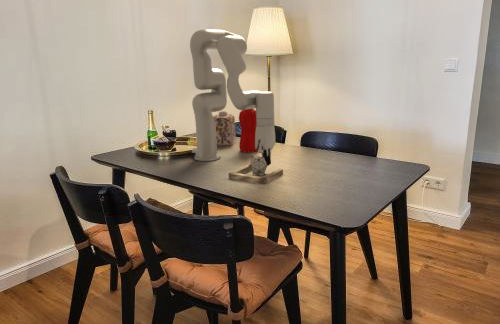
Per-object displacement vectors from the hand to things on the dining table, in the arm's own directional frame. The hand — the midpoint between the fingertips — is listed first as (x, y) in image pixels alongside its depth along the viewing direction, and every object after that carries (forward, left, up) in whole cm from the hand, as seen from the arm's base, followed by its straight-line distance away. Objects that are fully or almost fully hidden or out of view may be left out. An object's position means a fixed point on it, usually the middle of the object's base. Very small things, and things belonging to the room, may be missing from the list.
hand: (266, 164), depth 172 cm
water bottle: (-26, +28, -4) cm, 38 cm away
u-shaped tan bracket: (-1, -6, -3) cm, 7 cm away
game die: (-1, -5, -3) cm, 6 cm away
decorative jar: (-49, +37, -4) cm, 62 cm away
